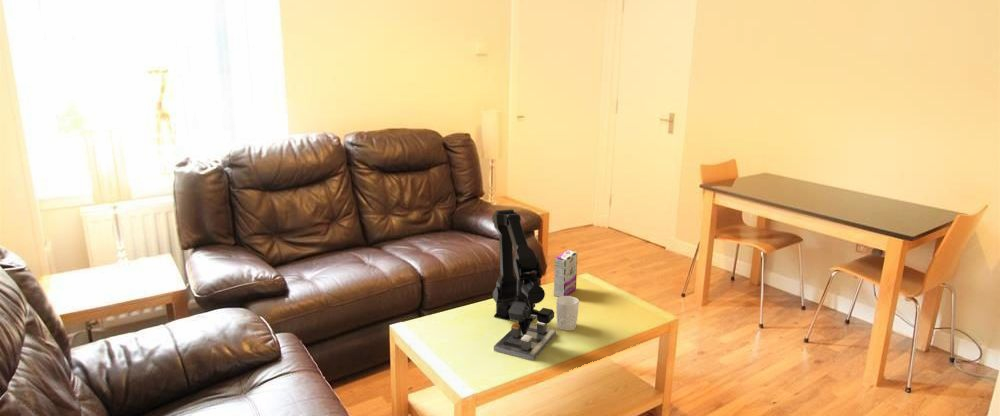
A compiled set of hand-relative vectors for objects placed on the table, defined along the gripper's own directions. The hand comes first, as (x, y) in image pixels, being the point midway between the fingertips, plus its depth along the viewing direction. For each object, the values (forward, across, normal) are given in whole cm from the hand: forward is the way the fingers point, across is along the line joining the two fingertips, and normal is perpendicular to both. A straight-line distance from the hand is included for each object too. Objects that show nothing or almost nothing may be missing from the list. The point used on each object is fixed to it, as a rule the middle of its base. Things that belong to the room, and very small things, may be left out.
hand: (524, 334), depth 201 cm
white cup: (+3, +9, +17) cm, 20 cm away
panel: (+3, 0, 0) cm, 3 cm away
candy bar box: (+3, -2, +46) cm, 46 cm away
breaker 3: (+1, +4, +6) cm, 7 cm away
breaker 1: (+1, -3, 0) cm, 3 cm away
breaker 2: (+1, +4, -7) cm, 7 cm away
